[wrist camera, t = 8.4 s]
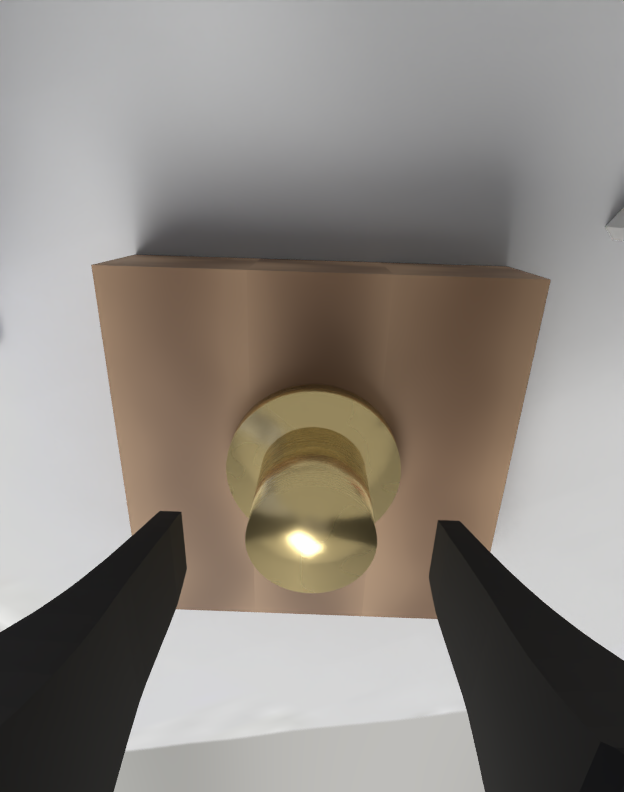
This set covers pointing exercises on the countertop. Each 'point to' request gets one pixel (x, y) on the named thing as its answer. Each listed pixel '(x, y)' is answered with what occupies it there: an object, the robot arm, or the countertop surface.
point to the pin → (313, 485)
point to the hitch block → (324, 365)
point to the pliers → (616, 226)
